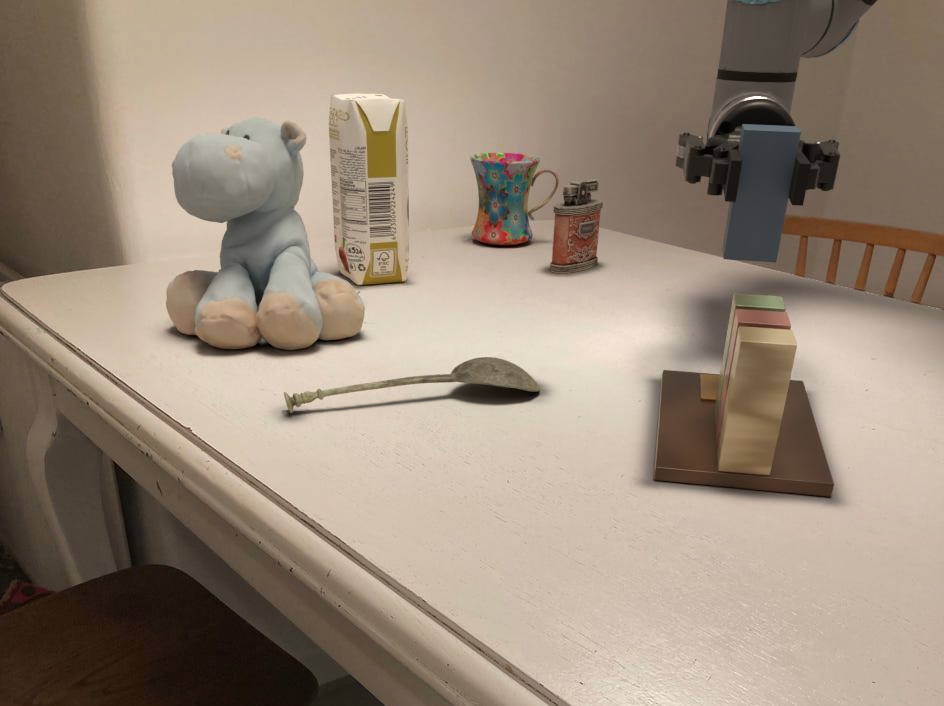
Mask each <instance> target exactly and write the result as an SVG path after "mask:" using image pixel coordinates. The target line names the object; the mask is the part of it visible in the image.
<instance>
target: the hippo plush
mask: <svg viewBox="0 0 944 706" xmlns="http://www.w3.org/2000/svg"><path fill="white" fill-rule="evenodd" d="M306 143H307V134H306V131H305V130H304V129H303V128H302V127H301V126H300V125H299V124H297V123H296V122H295V121H294V120H290V119H287V120H284V121H283V122H282V123H281V124H278V123H276V122H274V121H272V120H271V119H267V118H263V117H256V116H253V117H249V118H246V119H243V120H241V121H238V122H236V123H234V124H232V125H230V126H229V127H223V128H222V129H221V130H220V133H219V132H204V133H199V134H196V135H194V136H192V137H190V138H189V139H188V140H187V141H186V142H185V143H183V144H182V146H180V148H179V149H178V151H177V153H176V155H175V157H174V159H173V160H172V162H171V168H172V171H171V172H172V178H173V188H174V195H175V198H176V199H175V200H176V202H177V204H178V205H179V207H181V208H182V209H183V210H184V211H185V212H186V213H187V214H188V215H190V216H193V217H195V218H197V219H200V220H203V221H206V222H211V223H218V224H224V223H226V230H225V231H224V234H223V236H222V240H221V243H220V251H219V263H220V268H219V270H218V271H208V270H203V269H194V270H187V271H184V272H182V273H180V274H178V275H175V277H174V278H173V279H172V280H171V281H170V282H169V284H168V285H167V287H166V292H165V293H166V301H165V307H166V311H167V315H168V316H169V318H170V320H171V322H172V323H173V325H174V327H175V328H176V329H177V331H178V332H179V333H181V334H183V335H187V336H197V337H198V339H200V340H201V341H202V342H205V343H207V344H208V345H210V346H212V347H214V348H217V349H222V350H243V349H249V348H252V347H255V346H256V345H257V344H258V343H260V341H262V338H263V339H264V341H265V342H267V343H268V345H270V346H272V347H273V348H275V349H278V350H280V349H281V350H285V351H296V350H301V349H306V348H309V347H311V346H312V345H313V344H314V343H316V341H317V340H321V341H335V340H344V339H347V338H352V337H354V336H356V335H357V334H358V333H359V332H361V329H362V327H363V322H364V319H365V311H366V308H365V303H364V301H363V298H362V297H361V295H360V293H361V291H359V290H358V291H357V290H356V289H355V288H354V286H353V285H352V284H351V283H350V282H349V281H348V280H346V279H343V278H342V277H339V276H336V275H333V274H332V273H329V272H325V271H319V268H318V266H317V264H316V262H315V260H314V259H313V258H312V257H311V250H310V249H311V248H310V243H309V242H310V241H309V238H308V232H307V230H306V226H305V223H304V221H303V218H302V216H301V215H300V213H299V212H298V211H296V210H295V207H296V206H297V204H298V202H299V200H300V194H301V191H302V187H303V183H304V163H303V158H302V154H301V152H300V151H302V149H304V147H305V145H306Z"/></svg>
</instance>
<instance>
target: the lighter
mask: <svg viewBox="0 0 944 706" xmlns="http://www.w3.org/2000/svg"><path fill="white" fill-rule="evenodd" d="M599 183H600V182H599V181H598V179H594V178H593V179H587V180H578V179H577V180H576V179H575V180H574V179H572V180H571V181H570V183H569V184H567V185H563V187H562V196H563V201H564V202H560V203H557V204H554V205H553V213H554V223H553V224H554V225H553V239H552V255H551V262H550V263H549V272H552V273H554V274H569V273H570V274H571V273H575V272H580V271H584V270H585V271H586V270H588V269H591V268H593V267H596V266H597V265H598V261H599V257H598V244H599V232H600V221H601V212H602V211H601V210H602V209H603V207H604V206H603V205H604V201H603V200H601V199H595V198H592V193H595V192H598V191H599V186H600V185H599Z"/></svg>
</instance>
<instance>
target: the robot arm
mask: <svg viewBox="0 0 944 706" xmlns="http://www.w3.org/2000/svg"><path fill="white" fill-rule="evenodd" d="M876 2H878V0H727V1H726V8H725V9H726V10H725V17H724V22H723V23H724V25H723V32H722V38H721V39H722V40H721V46H720V52H719V53H720V54H719V62H718V69H717V76H716V79H715V84H714V93H713V98H712V106H711V111H710V115H709V118H708V124H707V130H706V135H705V136H706V142H705V143H704V136H703V135H694V134H690V132H683V133H680V134H678V144H677V149H676V157H675V165H674V166H675V167H677V168H679V169H682V172H683V176H684V181H685V182H687V183H688V184H691V185H695V184H697V183H701V181H702V177H705V178H708V183H707V184H708V185H707V190H706V195H709V196H723V197H724V202H727V203H730V202H736V197H737V191H738V185H739V179H740V173H741V167H742V158H741V155H740V152H739V150H738V147H739V141H740V135H741V129H742V124H753V125H777V126H796V123H795V121H794V119H793V118H792V116H791V110H792V105H793V100H794V92H795V88H796V82H797V78H798V73H799V67H800V62H801V58H804V59H812V58H820V57H824V56H826V55H828V54H830V53H832V52H834V51H836V50H838V49H839V48H840V47H842V46H843V45H845V43H846V42H848V40H849V39H850V38H851V37H852V36H853V34H854V32H855V31H856V29H857V27H858V25H859V23H860V20H861V18H862V17H863V16H864V15H865V14H866V13H867V12H868V11H869V10H870V9H871V8H872V7H873V6H874V5H875V4H876ZM796 127H797V126H796ZM839 147H840V142H839V141H836V140H835V139H829V140H824V141H815V142H806V141H805V140H803V139H800V140H799V145H798V150H797V156H796V160H795V165H794V170H793V176H792V181H791V186H790V191H789V197H788V201H789V202H790V204H791V205H792V206H801V207H803V206H804V202H805V197H806V193H807V191H810V190H816V189H818V190H820V191H821V192H829V191H832V190H834V187H835V183H836V178H837V174H838V168H839V164H840V160H841V159H840V158H841V153H840V152H839Z"/></svg>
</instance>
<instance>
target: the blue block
mask: <svg viewBox="0 0 944 706" xmlns="http://www.w3.org/2000/svg"><path fill="white" fill-rule="evenodd" d="M801 135H802V132H801V130H800V129H799V128H798V126H777V125H753V124H742V129H741V135H740V141H739V147H738V150H739V152H740V155H741V158H742V167H741V173H740V179H739V185H738V191H737V197H736V202H729V205H728V209H727V210H728V211H727V217H726V221H725V222H726V223H725V229H724V235H723V236H724V237H723V242H722V248H721V250H722V256H723V260H729V261H745V262H761V263H762V262H763V263H777V260H778V255H779V249H780V244H781V239H782V234H783V228H784V223H785V219H786V218H785V217H786V213H787V207H788V202H789V198H788V197H789V191H790V186H791V181H792V176H793V170H794V165H795V160H796V156H797V150H798V145H799V140H801Z"/></svg>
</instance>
